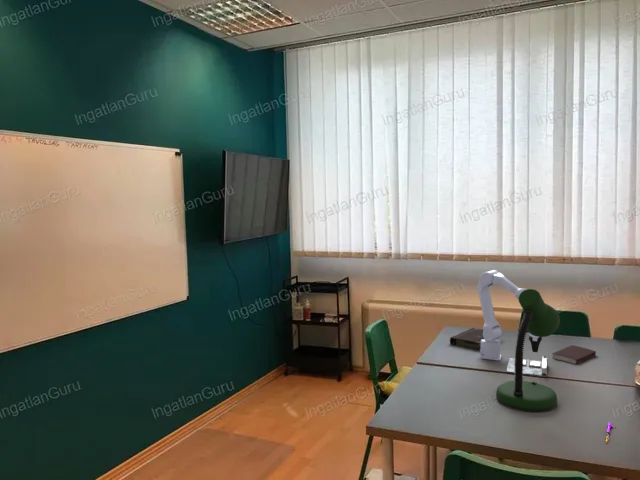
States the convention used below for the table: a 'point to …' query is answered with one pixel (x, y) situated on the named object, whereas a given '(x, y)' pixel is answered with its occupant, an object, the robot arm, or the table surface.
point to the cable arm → (544, 363)
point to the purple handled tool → (608, 431)
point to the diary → (469, 339)
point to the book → (574, 354)
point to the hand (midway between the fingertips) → (535, 351)
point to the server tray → (527, 368)
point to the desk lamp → (519, 392)
